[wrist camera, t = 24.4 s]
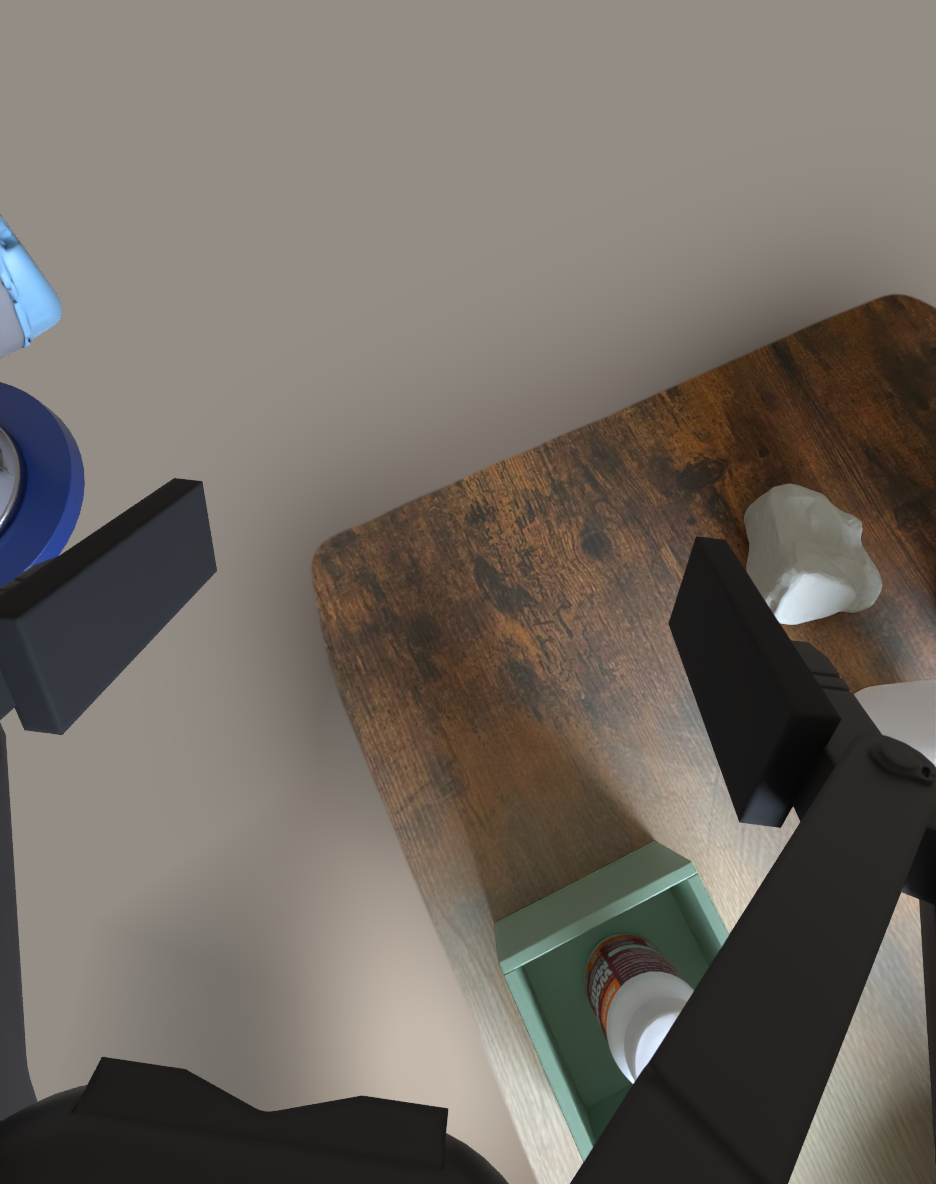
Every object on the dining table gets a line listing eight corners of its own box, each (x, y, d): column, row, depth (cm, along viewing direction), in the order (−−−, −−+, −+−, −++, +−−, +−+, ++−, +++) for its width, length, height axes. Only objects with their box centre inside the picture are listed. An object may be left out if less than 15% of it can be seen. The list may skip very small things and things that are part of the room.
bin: (493, 923, 43) (497, 962, 36) (655, 839, 45) (691, 860, 37) (579, 1121, 40) (603, 1208, 33) (749, 1026, 42) (809, 1089, 34)
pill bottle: (576, 936, 42) (612, 1007, 31) (659, 925, 43) (724, 991, 32) (591, 1034, 41) (634, 1143, 30) (677, 1021, 41) (752, 1126, 30)
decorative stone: (889, 617, 47) (883, 612, 39) (764, 631, 52) (736, 628, 44) (864, 486, 48) (854, 456, 40) (745, 512, 54) (716, 489, 46)
